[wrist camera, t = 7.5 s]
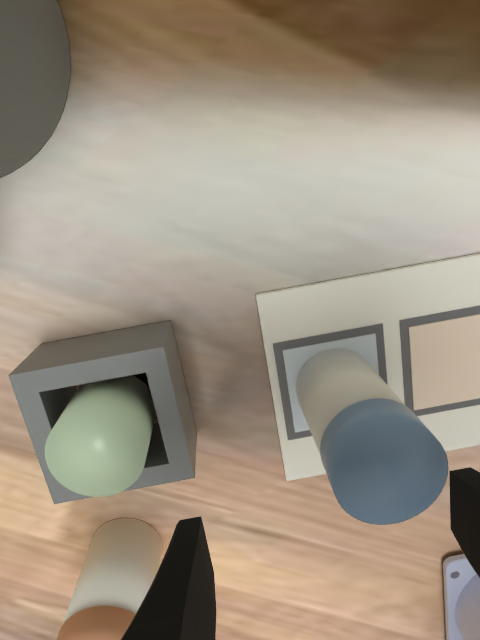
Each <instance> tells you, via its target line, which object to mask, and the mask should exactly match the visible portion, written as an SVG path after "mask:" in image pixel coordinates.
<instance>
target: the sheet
mask: <svg viewBox="0 0 480 640" xmlns="http://www.w3.org/2000/svg"><path fill="white" fill-rule="evenodd" d="M255 295H256V301H257V307H258V313H259V319H260V325H261V331H262V337H263V343H264V350H265V356H266V362H267V368H268V374H269V380H270V386H271V392H272V398H273V404H274V410H275V416H276V422H277V428H278V434H279V441H280V447H281V453H282V459H283V465H284V471H285V477H286V481H291V480H296V479H302V478H307V477H312V476H318V475H323V474H326V472H325V469H324V467H323V464H322V461H321V456H320V453H319V451H318V448H317V446H316V443H315V441H314V439H313V436H312V434H311V431H310V429H309V426H308V424H307V421H306V419H305V417H304V414H303V412H302V409H301V407H300V404H299V402H298V399H297V396H296V387H295V386H296V380H297V376H298V374H299V372H300V370H301V368H302V367H303V366H304V364H305V363H306V362H307V361H308V360H309V359H310V358H312V357H313V356H314V355H316V354H318V353H320V352H322V351H325V350H329V349H337V348H339V349H347V350H351V351H353V352H356V353H357V354H359V355H360V356H362V357H363V358H364V359H365V360H366V361H367V362H368V363H369V365H370V366H371V367H372V368H373V369H374V370H375V371H376V373H377V374H378V375H379V376H380V377H381V378H382V379H383V381H384V382H385V383H386V384H387V385H388V386H389V387H390V388H391V390H392V391H393V392H394V393H395V394H396V395H397V396H398V398H399V399H400V400H401V401H402V402H403V403H404V404H405V405H406V407H408V408H409V409H410V410H411V411H413V412H414V414H415V415H416V416H417V417H418V418H419V419H420V420H421V421H422V423H423V424H424V425H425V426H426V427H427V428H428V429H429V430H430V432H431V433H432V434H433V435H434V436H435V437H436V438H437V440H438V441H439V442H440V443H441V445H442V446H443V448H444V450H445V451H451V450H456V449H461V448H467V447H472V446H477V445H480V253H477V254H472V255H467V256H461V257H456V258H450V259H445V260H439V261H434V262H428V263H423V264H417V265H412V266H406V267H401V268H395V269H390V270H384V271H379V272H373V273H368V274H362V275H357V276H351V277H346V278H340V279H335V280H329V281H324V282H318V283H313V284H307V285H302V286H296V287H291V288H285V289H280V290H275V291H269V292H264V293H258V294H255Z"/></svg>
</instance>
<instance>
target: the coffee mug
mask: <svg viewBox="0 0 480 640" xmlns="http://www.w3.org/2000/svg"><path fill="white" fill-rule="evenodd" d="M69 80H70V50H69V41H68V36H67V31H66V26H65V21H64V18H63V15H62V12H61V9H60V7H59V4H58V1H57V0H0V178H1V177H3V176H6V175H8V174H10V173H12V172H13V171H15V170H17V169H18V168H20V167H21V166H23V165H24V164H25V163H27V162H28V161H29V160H30V159H32V158H33V157H34V156H35V155H36V154H37V153H38V152H39V151H40V149H41V148H42V147H43V146H44V144H45V143H46V142H47V141H48V139H49V138H50V137H51V135H52V134H53V132H54V130H55V128H56V126H57V124H58V121H59V119H60V117H61V115H62V112H63V109H64V106H65V102H66V98H67V92H68V86H69Z"/></svg>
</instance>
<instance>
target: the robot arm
mask: <svg viewBox="0 0 480 640" xmlns="http://www.w3.org/2000/svg"><path fill="white" fill-rule="evenodd" d="M450 515H451V530H452V532H453V534H454V536H455V538H456V540H457V541H458V543H459V545H460V547H461V549H462V551H463V552H464V554H460V555H455V556H450V557H448V558H446V559H445V561H444V562H443V576H444V599H445V623H446V640H480V472H478V471H476V470H474V469H472V468H471V467H470V468H465V469H459V470H454V471H450ZM215 630H216V599H215V583H214V571H213V567H212V562H211V558H210V553H209V549H208V545H207V540H206V536H205V531H204V527H203V523H202V518H201V517H195V518H190V519H184V520H180V521H179V522H178V523H177V525H176V528H175V531H174V534H173V536H172V539H171V542H170V544H169V547H168V549H167V551H166V554H165V556H164V558H163V561H162V563H161V565H160V567H159V569H158V571H157V574H156V576H155V578H154V580H153V582H152V584H151V586H150V588H149V590H148V592H147V594H146V596H145V598H144V600H143V602H142V603H141V605H140V607H139V609H138V611H137V613H136V615H135V616H134V618H133V620H132V622H131V623H130V625H129V627H128V629H127V630H126V632H125V634H124V635H123V637H122V638H121V640H215Z"/></svg>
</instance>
